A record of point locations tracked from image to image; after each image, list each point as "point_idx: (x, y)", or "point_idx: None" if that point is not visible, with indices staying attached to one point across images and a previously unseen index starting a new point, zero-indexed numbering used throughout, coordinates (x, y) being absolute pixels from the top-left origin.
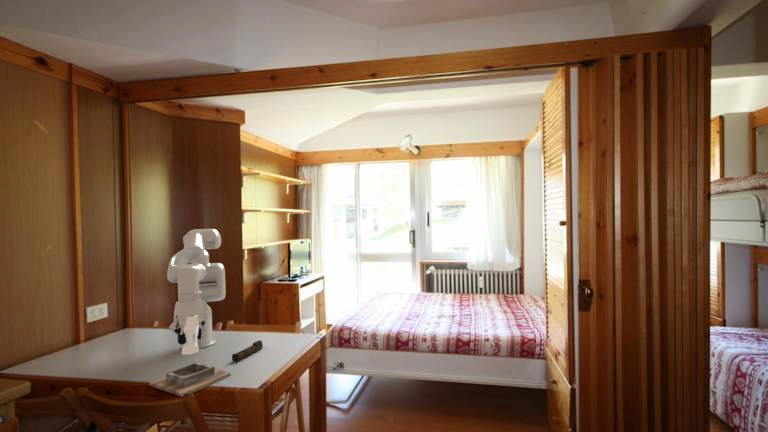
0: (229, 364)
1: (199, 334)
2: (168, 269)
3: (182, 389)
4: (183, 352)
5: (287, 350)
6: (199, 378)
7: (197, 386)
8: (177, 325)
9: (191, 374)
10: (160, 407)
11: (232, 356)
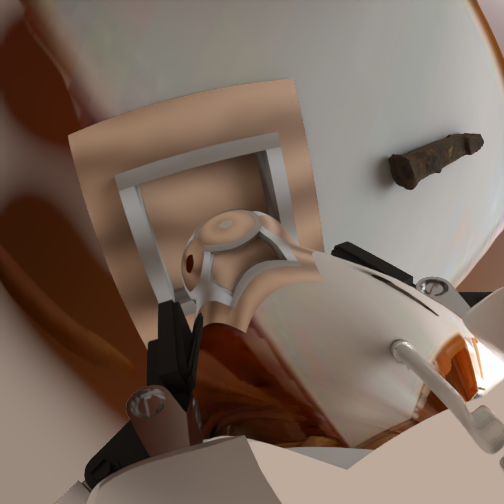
0: (371, 175)
1: None
2: None
3: (154, 321)
4: (188, 295)
5: (474, 222)
6: None
7: None
8: (159, 468)
9: (226, 185)
10: (90, 362)
11: (401, 160)
